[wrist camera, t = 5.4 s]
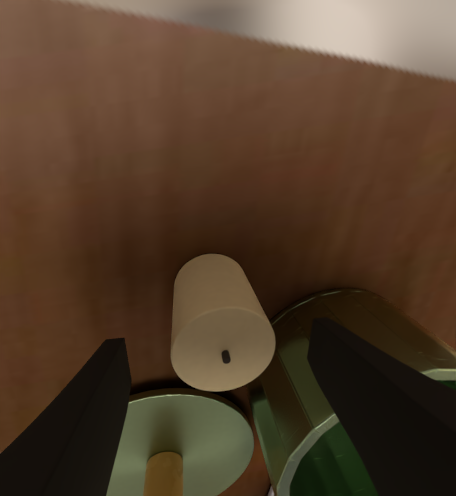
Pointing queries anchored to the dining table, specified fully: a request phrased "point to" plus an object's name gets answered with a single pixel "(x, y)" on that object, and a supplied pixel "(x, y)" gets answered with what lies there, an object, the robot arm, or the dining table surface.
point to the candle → (218, 326)
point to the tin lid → (180, 445)
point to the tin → (313, 400)
